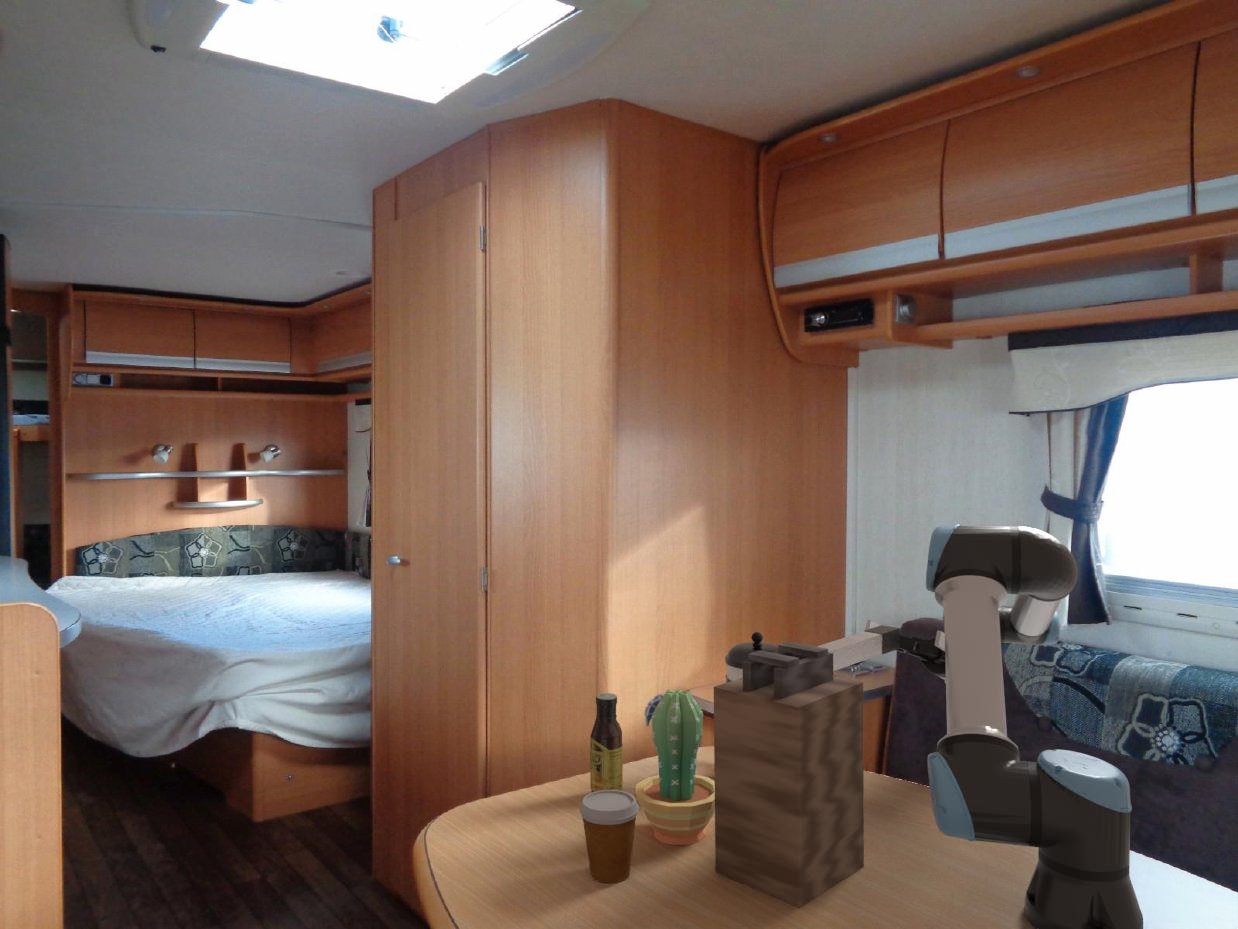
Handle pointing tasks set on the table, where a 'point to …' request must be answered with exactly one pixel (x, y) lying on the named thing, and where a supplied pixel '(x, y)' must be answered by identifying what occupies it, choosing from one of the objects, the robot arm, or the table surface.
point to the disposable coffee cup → (609, 833)
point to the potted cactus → (676, 771)
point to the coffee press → (745, 655)
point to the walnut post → (789, 774)
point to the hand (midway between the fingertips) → (901, 632)
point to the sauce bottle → (606, 746)
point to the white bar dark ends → (863, 646)
